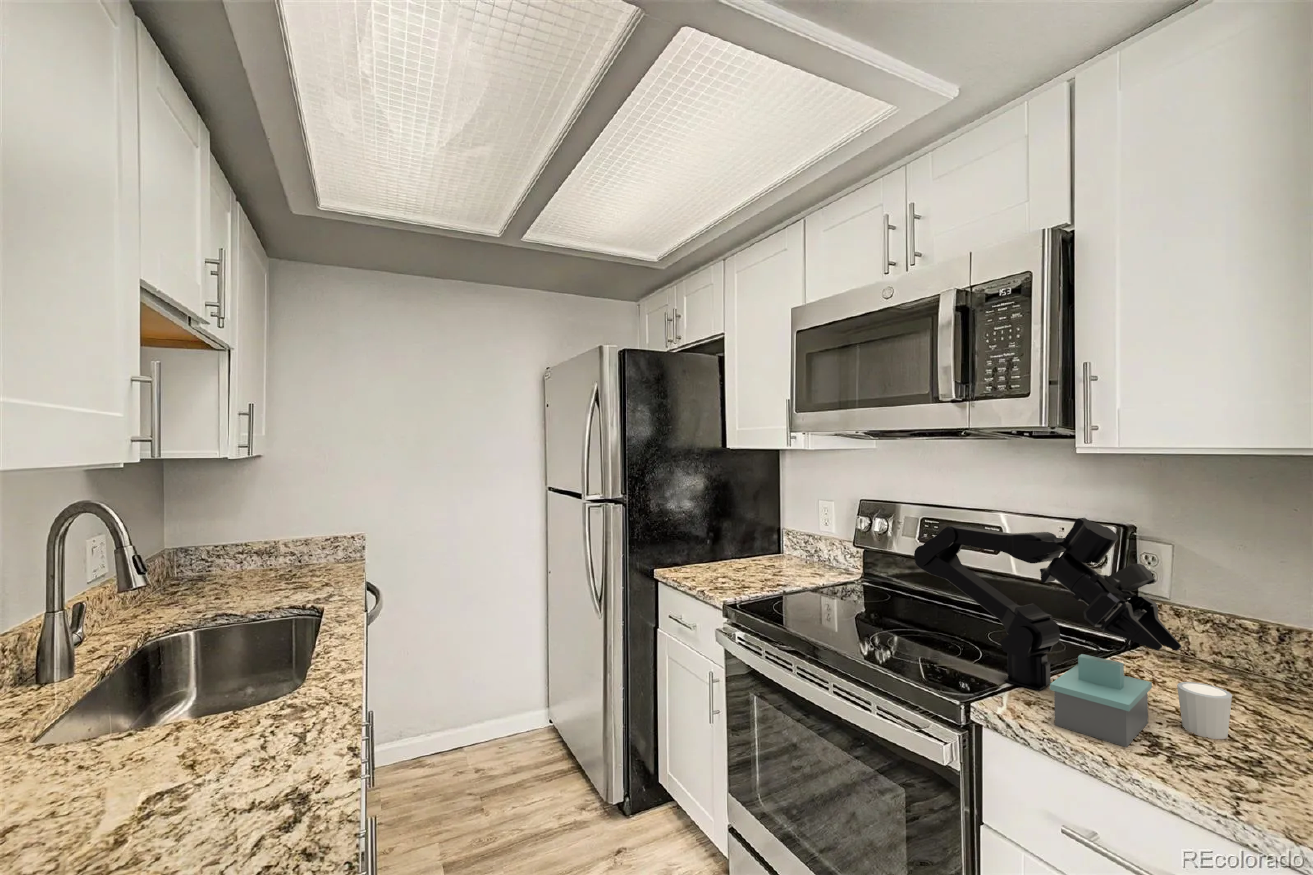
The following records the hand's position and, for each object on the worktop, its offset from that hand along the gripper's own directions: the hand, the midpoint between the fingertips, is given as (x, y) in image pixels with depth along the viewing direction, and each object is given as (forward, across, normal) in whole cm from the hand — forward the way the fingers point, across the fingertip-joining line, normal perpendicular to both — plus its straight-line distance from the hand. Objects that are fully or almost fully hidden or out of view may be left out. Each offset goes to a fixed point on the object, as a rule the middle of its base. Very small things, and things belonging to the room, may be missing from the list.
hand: (1170, 648), depth 101 cm
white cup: (+10, +8, +9) cm, 15 cm away
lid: (-1, -4, +13) cm, 13 cm away
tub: (+2, -3, +17) cm, 17 cm away
